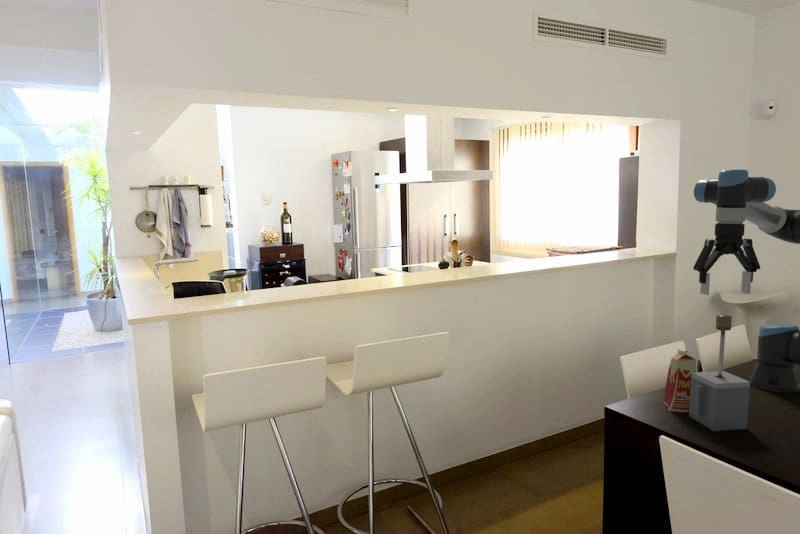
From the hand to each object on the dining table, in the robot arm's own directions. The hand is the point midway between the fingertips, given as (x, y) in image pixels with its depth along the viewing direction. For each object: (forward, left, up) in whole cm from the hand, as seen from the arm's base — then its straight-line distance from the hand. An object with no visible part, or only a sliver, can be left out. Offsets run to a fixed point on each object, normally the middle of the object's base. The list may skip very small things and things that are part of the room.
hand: (725, 293), depth 165 cm
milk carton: (+3, -13, -40) cm, 43 cm away
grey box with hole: (0, 0, -40) cm, 40 cm away
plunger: (0, 0, -31) cm, 31 cm away
